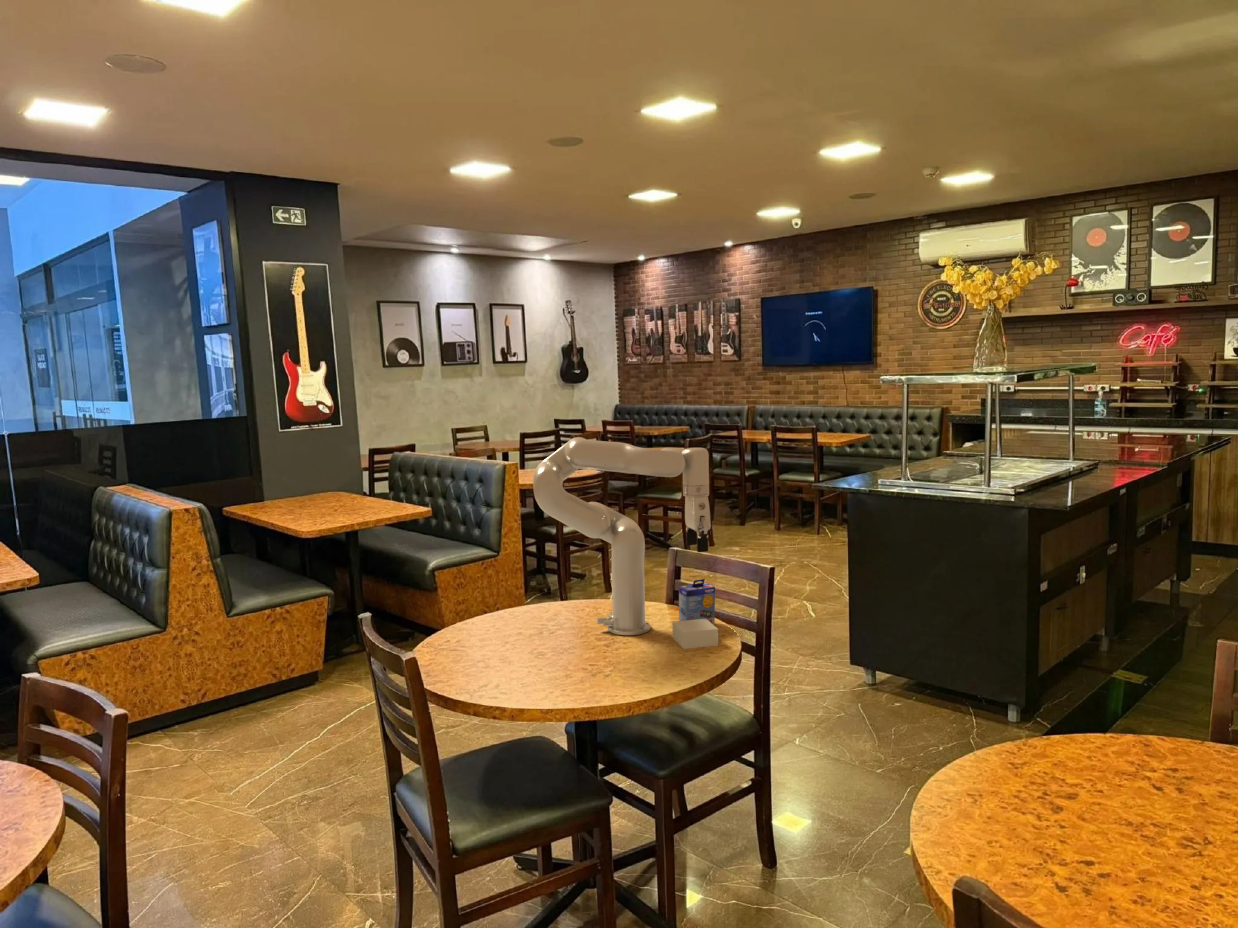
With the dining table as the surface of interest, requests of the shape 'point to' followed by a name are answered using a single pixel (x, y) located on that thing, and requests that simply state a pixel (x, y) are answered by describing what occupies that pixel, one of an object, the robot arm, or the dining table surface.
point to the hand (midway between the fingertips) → (697, 548)
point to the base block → (695, 633)
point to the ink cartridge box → (697, 601)
